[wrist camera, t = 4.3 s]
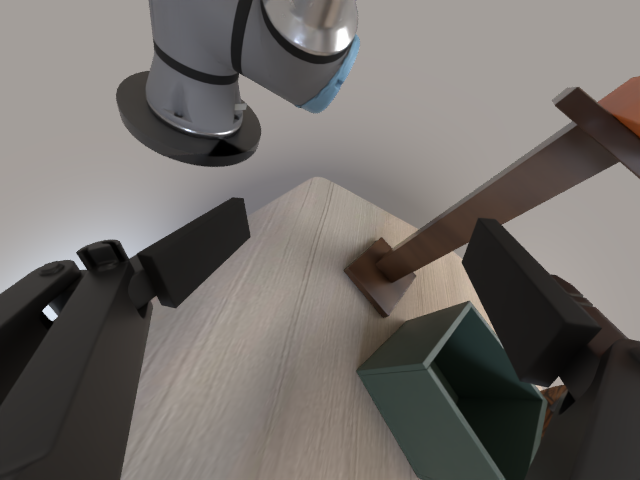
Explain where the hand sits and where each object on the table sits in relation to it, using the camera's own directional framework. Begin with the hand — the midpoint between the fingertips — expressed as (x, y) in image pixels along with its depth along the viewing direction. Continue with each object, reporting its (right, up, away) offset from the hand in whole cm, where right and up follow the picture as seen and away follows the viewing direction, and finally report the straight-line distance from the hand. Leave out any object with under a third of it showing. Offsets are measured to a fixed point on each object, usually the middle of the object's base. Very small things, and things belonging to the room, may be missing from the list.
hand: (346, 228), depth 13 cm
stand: (+8, -7, +24) cm, 27 cm away
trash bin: (+11, -20, +17) cm, 28 cm away
